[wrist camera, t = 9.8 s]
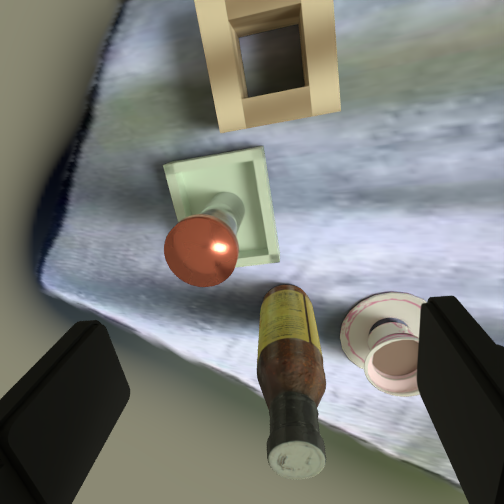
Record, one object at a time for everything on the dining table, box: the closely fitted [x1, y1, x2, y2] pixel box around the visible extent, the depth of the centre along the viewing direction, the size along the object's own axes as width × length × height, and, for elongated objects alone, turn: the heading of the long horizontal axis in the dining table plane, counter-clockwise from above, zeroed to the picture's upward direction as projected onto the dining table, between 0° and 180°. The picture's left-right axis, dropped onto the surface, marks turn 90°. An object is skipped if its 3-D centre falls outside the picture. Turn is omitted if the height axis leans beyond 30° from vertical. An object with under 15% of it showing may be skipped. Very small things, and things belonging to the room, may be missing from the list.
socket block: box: [194, 0, 341, 133], centre depth 28 cm, size 10×10×6 cm
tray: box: [163, 146, 280, 267], centre depth 35 cm, size 12×10×3 cm
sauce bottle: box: [257, 285, 326, 479], centre depth 31 cm, size 7×6×20 cm
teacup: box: [340, 292, 427, 397], centre depth 38 cm, size 12×12×6 cm
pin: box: [164, 192, 245, 287], centre depth 30 cm, size 6×6×12 cm
